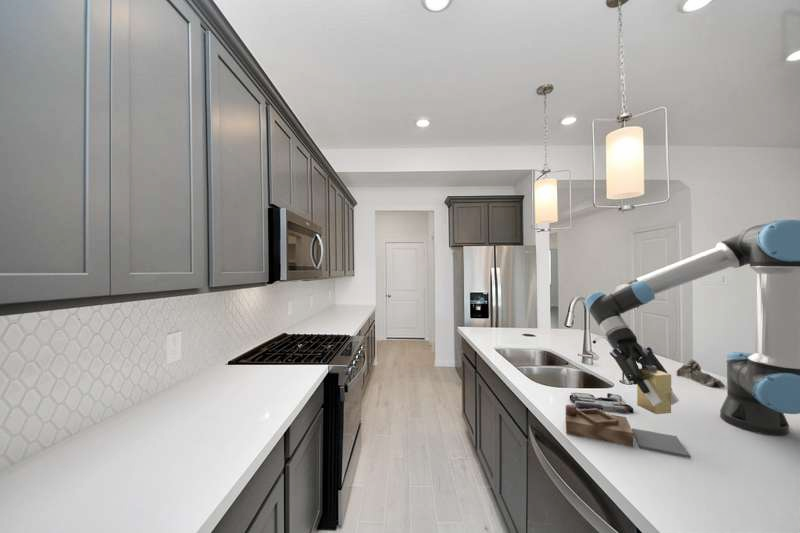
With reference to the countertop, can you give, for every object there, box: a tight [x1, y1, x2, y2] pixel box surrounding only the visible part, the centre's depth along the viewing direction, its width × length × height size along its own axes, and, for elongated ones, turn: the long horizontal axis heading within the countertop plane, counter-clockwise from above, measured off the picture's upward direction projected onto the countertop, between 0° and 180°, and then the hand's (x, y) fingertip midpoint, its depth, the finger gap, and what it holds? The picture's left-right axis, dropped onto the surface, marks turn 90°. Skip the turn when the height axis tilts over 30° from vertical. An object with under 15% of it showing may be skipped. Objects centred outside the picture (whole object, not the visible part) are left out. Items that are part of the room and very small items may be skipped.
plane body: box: [565, 404, 634, 448], centre depth 100 cm, size 17×11×6 cm
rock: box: [675, 358, 726, 389], centre depth 146 cm, size 18×11×10 cm, turn 173°
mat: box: [631, 427, 691, 459], centre depth 93 cm, size 11×11×1 cm
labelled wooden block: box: [636, 365, 672, 415], centre depth 94 cm, size 5×6×12 cm
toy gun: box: [569, 392, 634, 414], centre depth 121 cm, size 3×20×15 cm
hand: (666, 403), depth 90 cm, fingers closed on labelled wooden block, 5 cm apart
